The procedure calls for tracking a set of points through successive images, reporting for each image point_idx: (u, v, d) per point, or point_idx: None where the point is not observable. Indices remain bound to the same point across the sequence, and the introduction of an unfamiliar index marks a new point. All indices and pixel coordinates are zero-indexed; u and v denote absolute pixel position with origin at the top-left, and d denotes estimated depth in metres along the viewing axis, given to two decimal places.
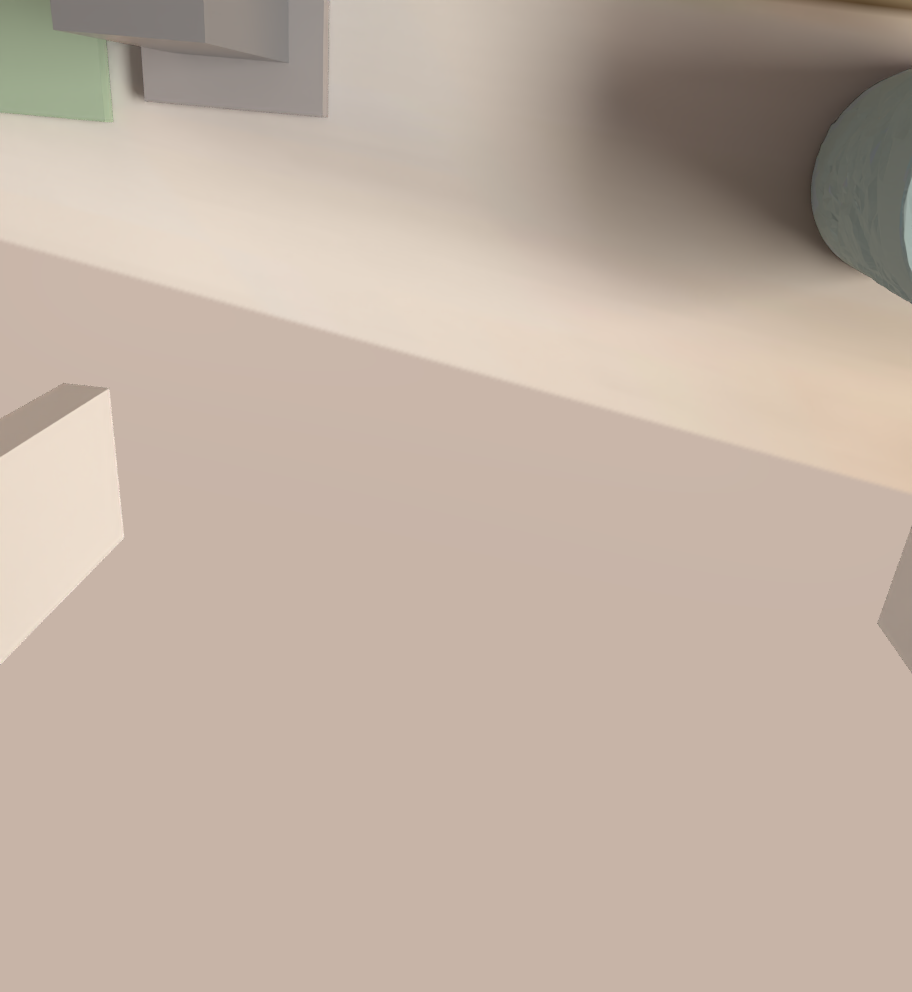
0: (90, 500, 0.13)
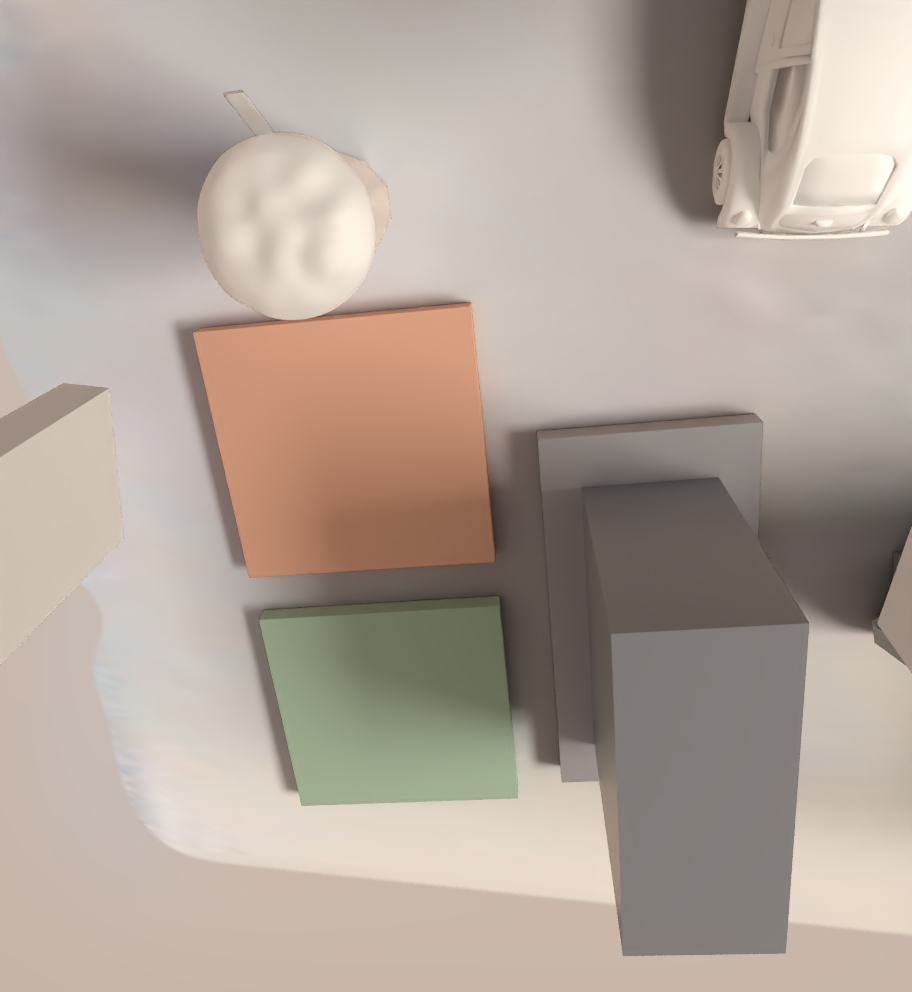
0: (90, 500, 0.13)
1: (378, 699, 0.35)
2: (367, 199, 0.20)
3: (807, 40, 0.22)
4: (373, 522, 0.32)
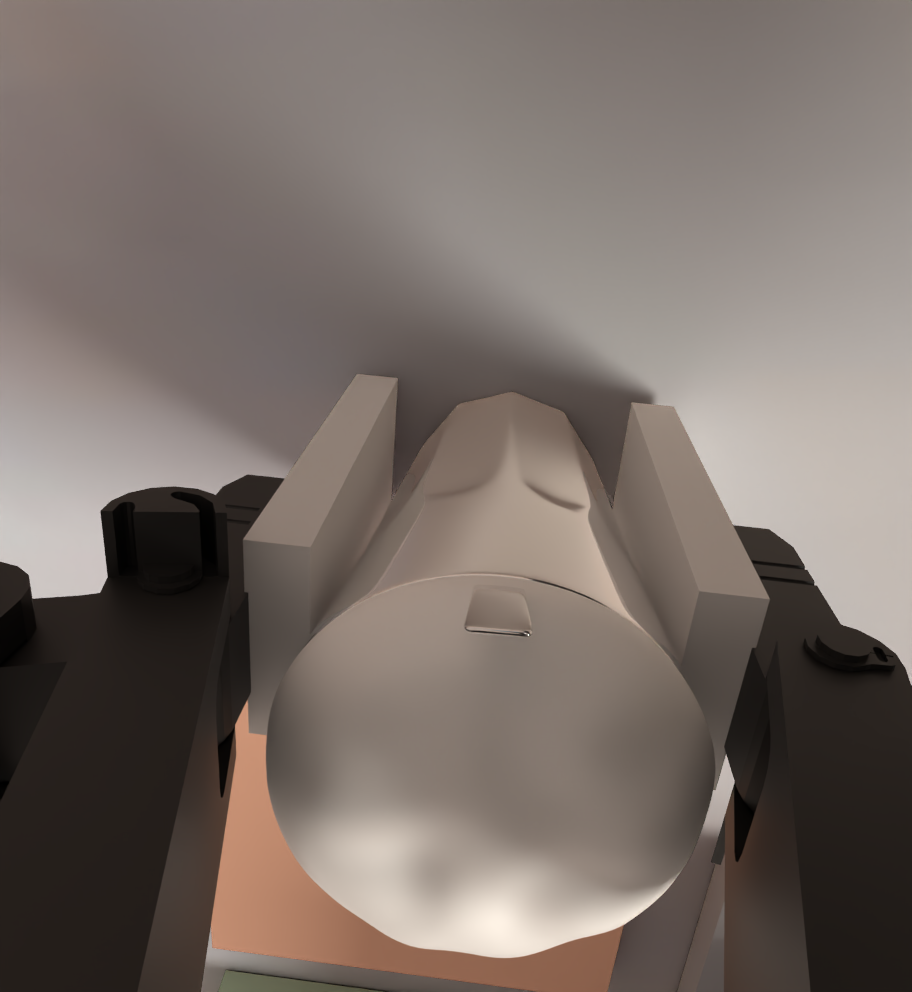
0: (385, 476, 0.15)
1: None
2: (714, 774, 0.08)
3: None
4: None
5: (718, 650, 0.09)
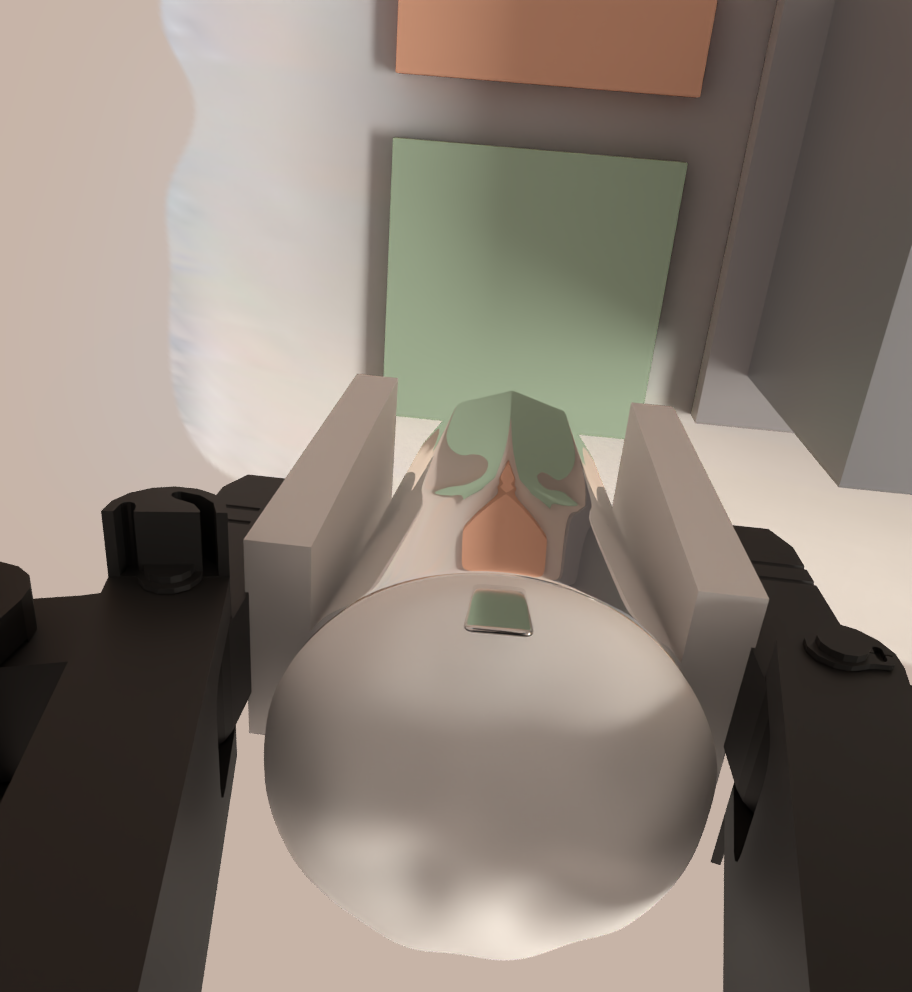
0: (385, 476, 0.15)
1: (509, 277, 0.30)
2: (716, 775, 0.08)
3: None
4: (568, 13, 0.26)
5: (717, 650, 0.09)
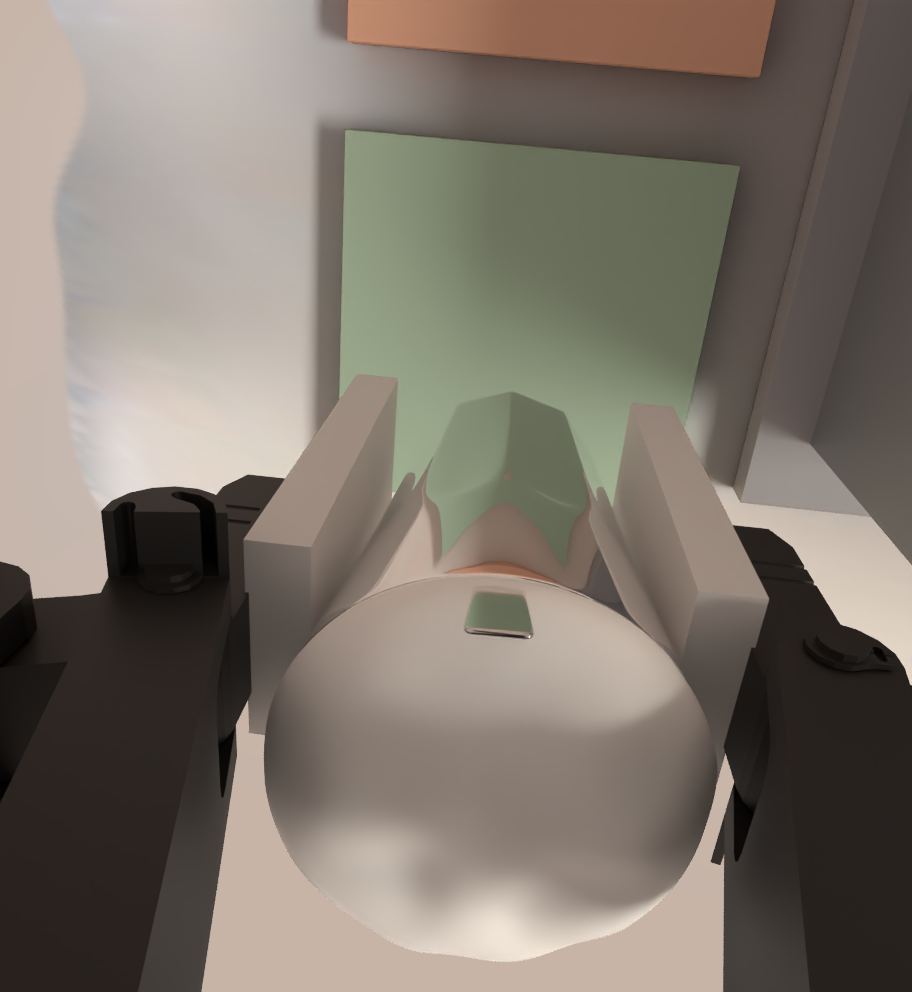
0: (385, 476, 0.15)
1: (500, 314, 0.23)
2: (716, 777, 0.08)
3: None
4: None
5: (717, 650, 0.09)
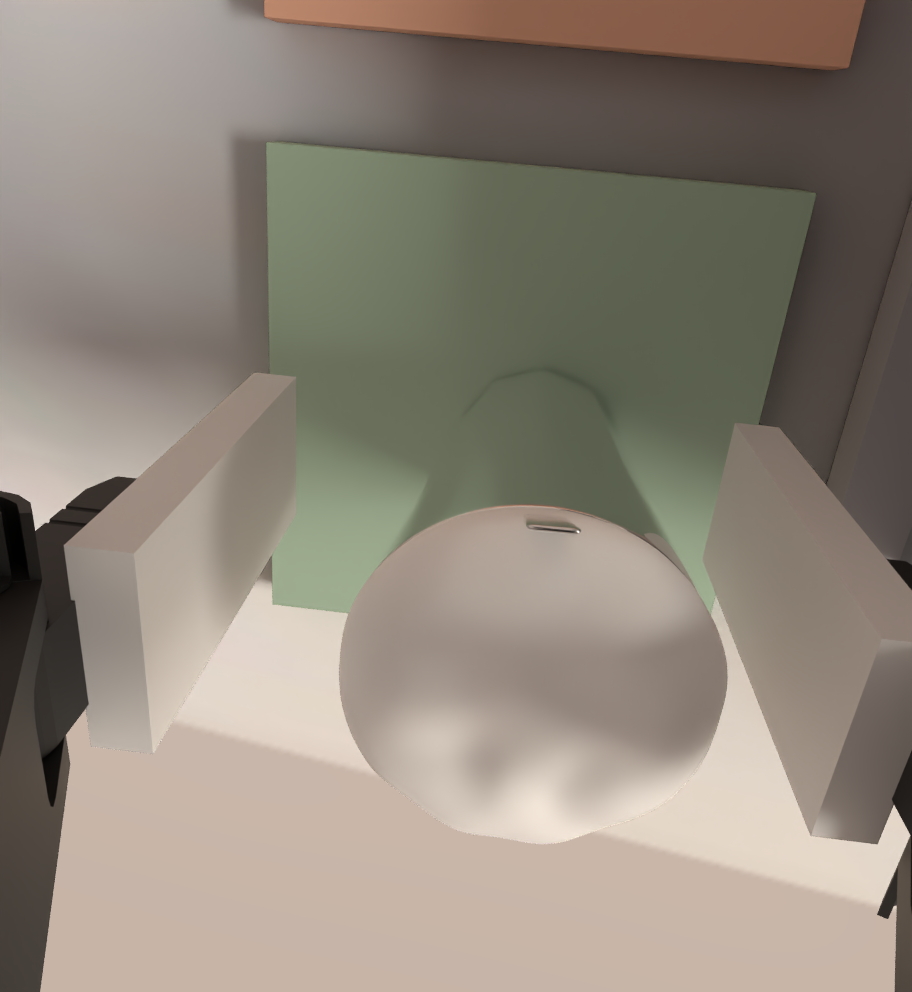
0: (281, 478, 0.14)
1: (483, 390, 0.17)
2: None
3: None
4: None
5: (895, 700, 0.09)
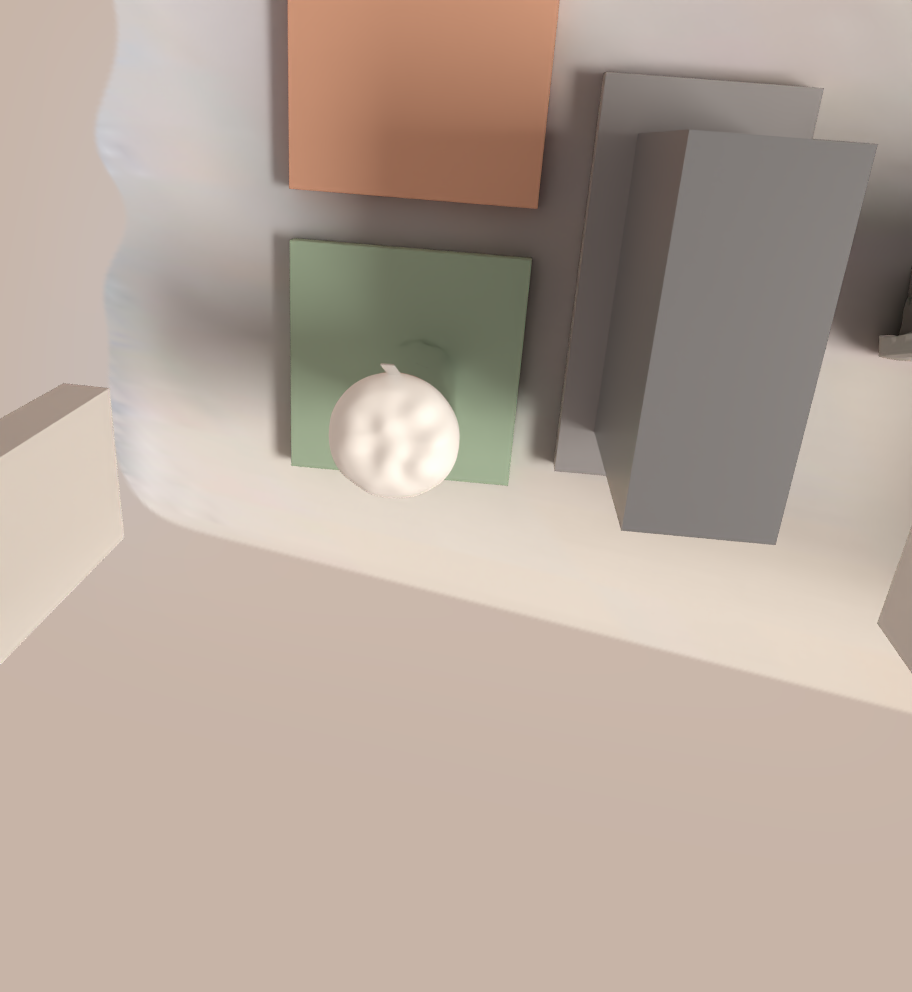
0: (90, 500, 0.13)
1: None
2: (458, 431, 0.28)
3: None
4: (426, 143, 0.32)
5: None
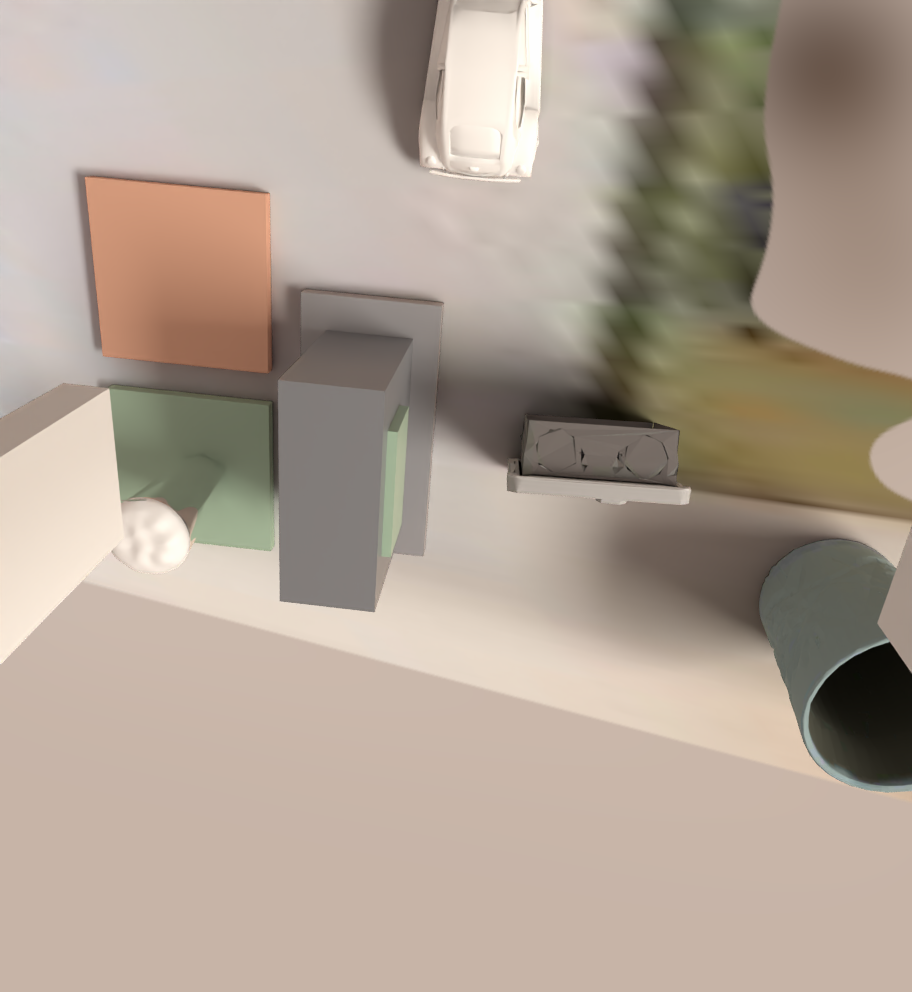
0: (90, 500, 0.13)
1: None
2: (186, 534, 0.44)
3: (444, 55, 0.38)
4: (190, 331, 0.48)
5: None
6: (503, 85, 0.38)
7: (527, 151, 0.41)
